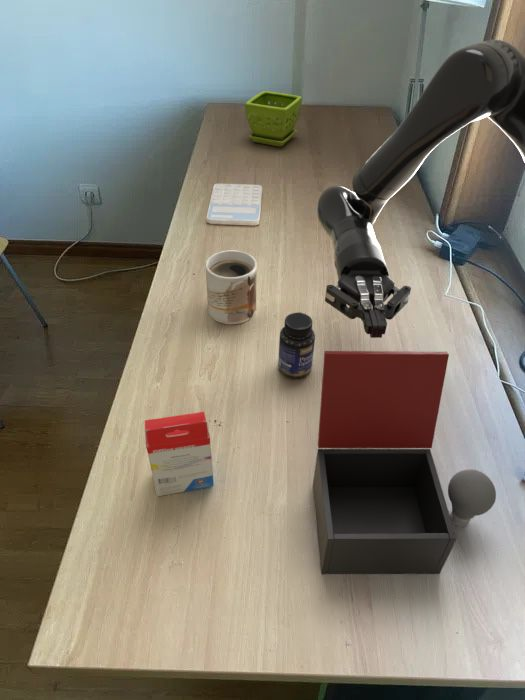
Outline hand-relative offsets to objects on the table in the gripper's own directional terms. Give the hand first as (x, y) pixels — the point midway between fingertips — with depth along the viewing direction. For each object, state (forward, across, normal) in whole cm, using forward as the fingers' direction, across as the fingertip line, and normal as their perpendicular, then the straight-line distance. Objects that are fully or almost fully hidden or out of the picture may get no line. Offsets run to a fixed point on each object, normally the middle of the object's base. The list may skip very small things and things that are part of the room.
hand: (377, 332), depth 76 cm
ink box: (+8, -27, +22) cm, 36 cm away
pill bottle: (-16, -9, +22) cm, 29 cm away
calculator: (-77, -21, +22) cm, 83 cm away
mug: (-34, -20, +22) cm, 45 cm away
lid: (+8, 0, +5) cm, 10 cm away
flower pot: (-122, -10, +22) cm, 124 cm away
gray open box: (+16, 0, +22) cm, 27 cm away
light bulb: (+15, +12, +22) cm, 29 cm away
